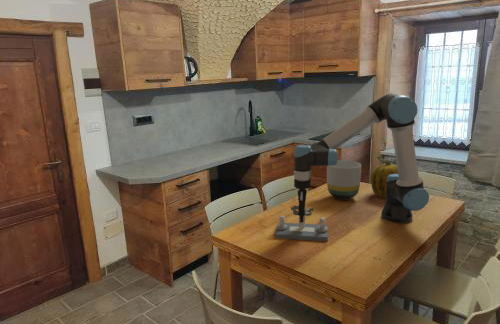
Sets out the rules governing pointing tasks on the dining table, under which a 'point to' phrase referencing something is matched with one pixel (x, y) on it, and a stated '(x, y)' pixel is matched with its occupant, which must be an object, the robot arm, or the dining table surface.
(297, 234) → the gear board
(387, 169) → the pumpkin
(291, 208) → the mechanical component
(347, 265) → the dining table surface
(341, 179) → the planter
